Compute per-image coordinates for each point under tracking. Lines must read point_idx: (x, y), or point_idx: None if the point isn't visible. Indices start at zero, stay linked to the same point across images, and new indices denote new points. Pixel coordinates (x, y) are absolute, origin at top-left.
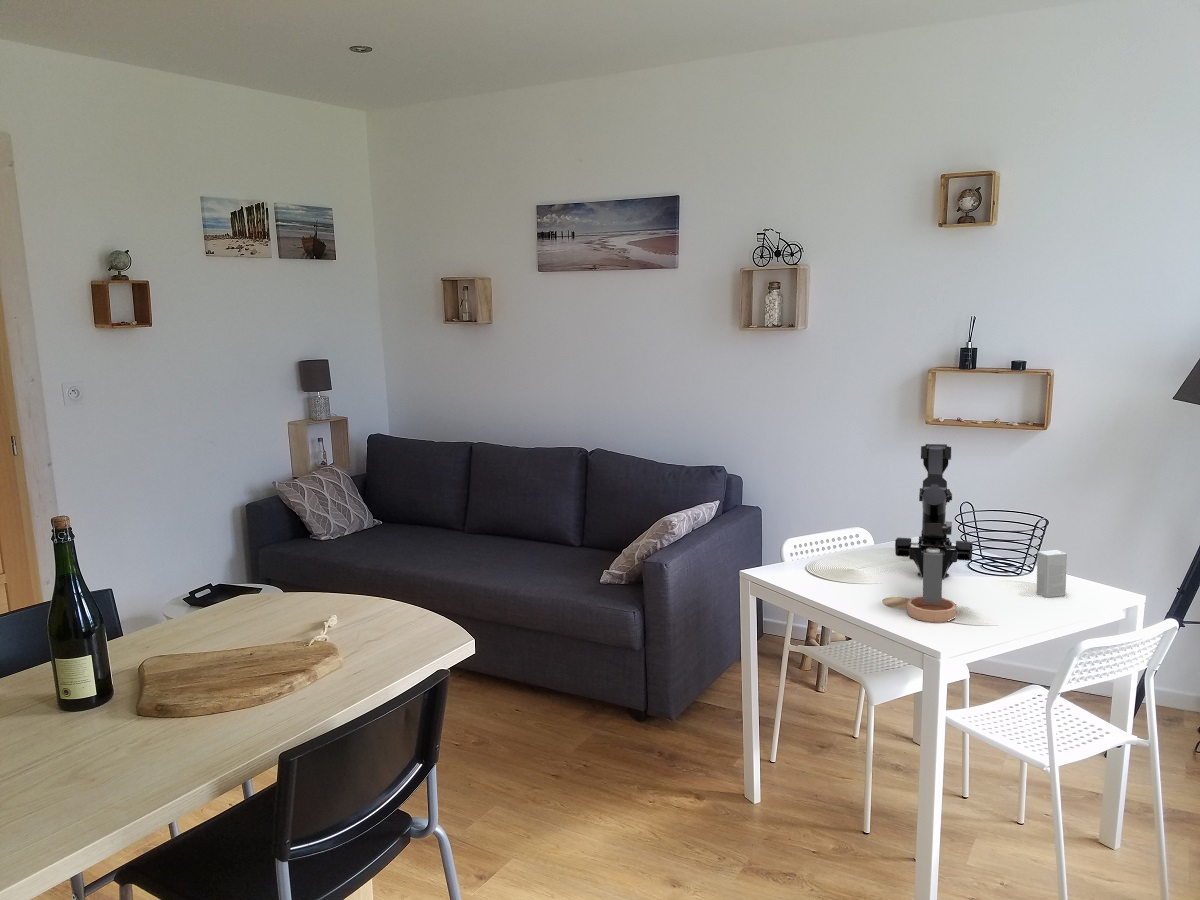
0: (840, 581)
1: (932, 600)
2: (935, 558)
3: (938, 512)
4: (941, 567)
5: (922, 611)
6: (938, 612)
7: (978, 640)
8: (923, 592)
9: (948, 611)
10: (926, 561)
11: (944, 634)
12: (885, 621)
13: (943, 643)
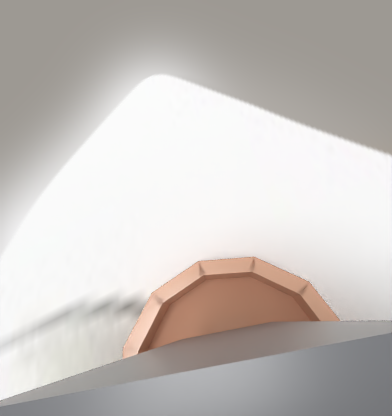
0: None
1: (224, 331)
2: (160, 368)
3: None
4: (112, 364)
5: (252, 257)
6: (186, 270)
7: (60, 175)
8: (276, 322)
9: (148, 299)
10: (316, 330)
11: (156, 177)
12: (370, 205)
13: (149, 112)
